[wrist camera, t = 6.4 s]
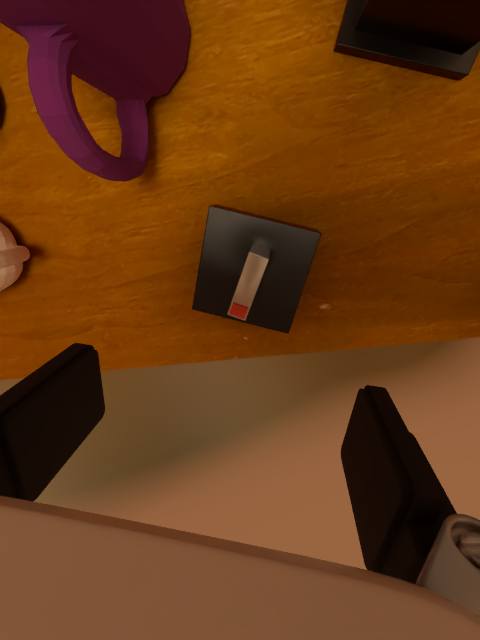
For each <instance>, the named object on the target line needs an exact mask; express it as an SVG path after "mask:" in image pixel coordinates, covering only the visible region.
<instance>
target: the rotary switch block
mask: <svg viewBox="0 0 480 640" xmlns="http://www.w3.org/2000/svg"><path fill="white" fill-rule="evenodd" d="M320 235H321V233H320V232H319V231H318V230H317V229H313V228H309V227H305V226H301V225H297V224H293V223H288V222H284V221H280V220H276V219H272V218H268V217H264V216H260V215H256V214H252V213H248V212H244V211H240V210H236V209H232V208H228V207H223V206H219V205H211V206H209V211H208V217H207V223H206V229H205V235H204V241H203V247H202V253H201V259H200V265H199V271H198V277H197V283H196V289H195V295H194V301H193V307H192V309H193V310H197V311H201V312H205V313H209V314H213V315H217V316H221V317H225V318H229V319H233V320H237V321H241V322H245V323H249V324H252V325H256V326H260V327H264V328H268V329H272V330H276V331H280V332H284V333H289V330H290V327H291V324H292V321H293V318H294V315H295V312H296V309H297V306H298V303H299V300H300V297H301V294H302V290H303V287H304V284H305V281H306V278H307V275H308V272H309V269H310V266H311V263H312V260H313V257H314V254H315V251H316V248H317V245H318V241H319V238H320ZM254 243H255V244H258V245H260V246H263V247H266V248H268V249H270V255H269V261H268V263H267V266H266V268H265V271H264V273H263V276H262V279H261V281H260V284H259V286H258V289H257V292H256V294H255V297H254V299H253V302H252V305H251V307H250V310H249V312H248V315H247V317H246V320H245V321H244V320H241V319H238V318H236V317H233V316H230V315H228V314H227V313H228V310H229V308H230V305H231V302H232V299H233V296H234V293H235V291H236V288H237V285H238V282H239V279H240V277H241V274H242V271H243V268H244V265H245V262H246V260H247V257H248V254H249V251H250V249H251V247H252V245H253V244H254Z"/></svg>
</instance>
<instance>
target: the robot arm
mask: <svg viewBox="0 0 480 640" xmlns="http://www.w3.org/2000/svg"><path fill="white" fill-rule="evenodd" d="M104 412H105V404H104V396H103V388H102V381H101V373H100V365H99V357H98V352H97V350H94V347H93V346H92V345H86V344H80V343H74V344H72V345H71V346H70V347H68V348H67V349H65V350H64V351H62V352H61V353H60V354H58V355H57V356H55V357H54V358H53V359H51V360H50V361H48V362H47V363H46V364H44V365H43V366H41V367H40V368H38V369H37V370H36V371H34V372H33V373H31V374H30V375H29V376H27V377H26V378H24V379H23V380H22V381H20V382H19V383H17V384H16V385H15V386H13V387H12V388H10V389H9V390H7V391H6V392H5V393H3V394H2V395H0V640H480V520H478V519H476V518H474V517H470V516H467V515H464V514H457V513H456V511H455V509H454V508H453V506H452V504H451V502H450V500H449V498H448V497H447V495H446V493H445V491H444V489H443V487H442V486H441V484H440V482H439V480H438V479H437V477H436V475H435V473H434V471H433V469H432V468H431V466H430V464H429V462H428V460H427V458H426V456H425V455H424V453H423V451H422V449H421V447H420V446H419V444H418V442H417V440H416V438H415V437H414V435H413V434H411V433H410V432H409V431H408V430H407V427H406V425H405V423H404V422H403V420H402V418H401V416H400V414H399V412H398V410H397V408H396V407H395V405H394V403H393V401H392V399H391V397H390V395H389V393H388V392H387V390H386V389H385V388H383V387H376V386H370V385H367V386H365V388H364V389H359V391H358V394H357V397H356V401H355V404H354V407H353V410H352V414H351V417H350V420H349V424H348V427H347V431H346V434H345V437H344V441H343V444H342V448H341V459H342V464H343V468H344V473H345V477H346V482H347V487H348V491H349V496H350V500H351V504H352V509H353V514H354V518H355V523H356V527H357V531H358V536H359V541H360V545H361V550H362V554H363V559H364V563H365V566H366V568H367V570H364V569H360V568H356V567H351V566H347V565H342V564H338V563H333V562H329V561H324V560H320V559H315V558H311V557H307V556H302V555H297V554H292V553H288V552H283V551H278V550H273V549H268V548H263V547H258V546H253V545H248V544H244V543H239V542H234V541H229V540H224V539H219V538H214V537H210V536H205V535H199V534H195V533H190V532H185V531H179V530H175V529H169V528H165V527H159V526H154V525H150V524H144V523H140V522H135V521H130V520H124V519H119V518H114V517H109V516H104V515H99V514H94V513H89V512H84V511H78V510H73V509H68V508H63V507H58V506H53V505H47V504H42V503H37V502H33V501H34V500H36V499H37V498H38V496H39V495H40V494H41V493H42V491H43V490H44V489H45V488H46V486H47V485H48V484H49V483H50V481H51V480H52V479H53V478H54V477H55V475H56V474H57V473H58V472H59V470H60V469H61V468H62V467H63V465H64V464H65V463H66V462H67V460H68V459H69V458H70V457H71V456H72V454H73V453H74V452H75V450H77V448H78V447H79V446H80V445H81V443H82V442H83V441H84V440H85V438H86V437H87V436H88V435H89V433H90V432H91V431H92V429H94V427H95V426H96V425H97V424H98V422H99V421H100V420H101V419H102V417H103V415H104Z"/></svg>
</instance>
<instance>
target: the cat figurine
mask: <svg viewBox="0 0 480 640" xmlns="http://www.w3.org/2000/svg"><path fill="white" fill-rule="evenodd" d="M29 258H30V252H29V250H28V249H27V248H26V247H24V246H17V244H16V241H15V238H14V236H13V235H12V233H11V231H10V230H9V229H8V228H7V227H6V226H5V225H3V224H2V223H1V222H0V291H2V290H3V289H5V288H7V287H8V286H10V285H11V284H13V283H14V282H15V281H16V280H17V279H18V277H19V276H20V274H21V272H22V269H23V262H24V261H26V260H28V259H29Z"/></svg>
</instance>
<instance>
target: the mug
mask: <svg viewBox="0 0 480 640" xmlns="http://www.w3.org/2000/svg"><path fill="white" fill-rule="evenodd" d="M0 23H2V24H4V25H5V26H7V27H8V28H10V29H12V30H13V31H15V32H16V33H18V34H20V35H21V36H23V37H24V38H25V39H26V41H27V42H28V43H29V51H28V58H27V62H28V76H29V87H30V90H31V93H32V96H33V99H34V103H35V106H36V109H37V112H38V114H39V116H40V118H41V120H42V122H43V123H44V125H45V127H46V129H47V131H48V132H49V134H50V135H51V136H52V138H53V139H54V140H55V141H56V143H57V144H58V145H59V146H60V148H61V149H62V150H63V151H64V153H65V154H66V155H67V156H68V157H69V158H71V159H72V160H73V161H74V162H75V163H77V164H78V165H79V166H80V167H81V168H83V169H84V170H86V171H88V172H91V173H93V174H95V175H97V176H99V177H102V178H104V179H107V180H111V181H129V180H132V179H134V178H137V177H139V176H141V175H142V173H143V172H144V170H145V167H146V164H147V161H148V159H149V143H150V138H149V123H148V116H147V108H146V103H147V102H148V101H149V99H150V98H151V97H159V96H162V95H164V94H167V92H168V91H169V90H170V88H171V87H172V85H173V84H174V83H175V81H176V80H177V78H178V77H179V76H180V74H181V73H182V71H183V70H184V69H185V64H186V57H187V51H188V44H189V38H190V26H189V22H188V18H187V14H186V10H185V6H184V2H183V0H0ZM71 74H73V75H75V76H76V77H78V78H80V79H82V80H83V81H85V82H87V83H89V84H90V85H92V86H94V87H95V88H97V89H99V90H101V91H102V92H104V93H106V94H107V95H109V96H111V97H113V98H114V99H115V100H116V104H117V116H118V120H119V124H120V128H121V131H122V148H121V155H120V157H115V156H113V155H111V154H109V153H108V152H106V151H104V150H103V149H102V148H101V147H100V146H99V145H98V144H97V143H96V142H95V140H94V139H93V137H92V136H91V134H90V132H89V131H88V129H87V127H86V125H85V124H84V122H83V120H82V118H81V116H80V114H79V113H78V110H77V107H76V103H75V100H74V96H73V93H72V82H71Z"/></svg>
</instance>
